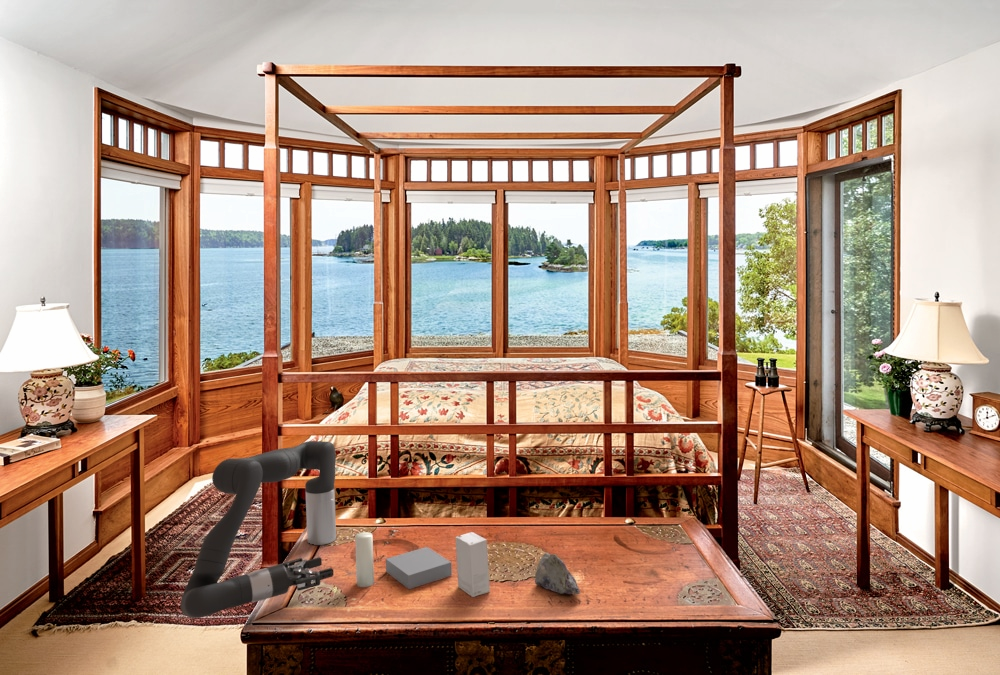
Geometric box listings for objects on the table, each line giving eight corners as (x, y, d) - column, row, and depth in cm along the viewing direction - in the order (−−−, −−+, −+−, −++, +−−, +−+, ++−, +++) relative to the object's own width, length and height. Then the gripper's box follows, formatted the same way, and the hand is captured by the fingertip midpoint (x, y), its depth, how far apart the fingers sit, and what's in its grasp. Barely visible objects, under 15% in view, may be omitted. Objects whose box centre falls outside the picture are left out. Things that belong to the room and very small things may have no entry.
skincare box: (490, 592, 179) (489, 540, 178) (471, 598, 176) (470, 545, 174) (474, 581, 186) (473, 530, 185) (455, 586, 183) (454, 535, 181)
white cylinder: (353, 582, 186) (352, 534, 185) (369, 577, 189) (368, 530, 188) (361, 588, 182) (359, 540, 181) (376, 583, 185) (375, 536, 184)
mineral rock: (581, 601, 174) (581, 564, 173) (542, 604, 172) (542, 567, 171) (569, 579, 186) (569, 545, 186) (533, 582, 185) (532, 547, 184)
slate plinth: (386, 571, 193) (385, 558, 192) (427, 559, 201) (427, 546, 201) (408, 589, 181) (408, 575, 181) (451, 575, 190) (451, 562, 189)
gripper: (274, 578, 163) (336, 561, 172) (257, 559, 174) (316, 544, 184) (276, 607, 163) (337, 589, 173) (259, 587, 175) (317, 570, 184)
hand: (326, 566), depth 178 cm, fingers open, 8 cm apart
